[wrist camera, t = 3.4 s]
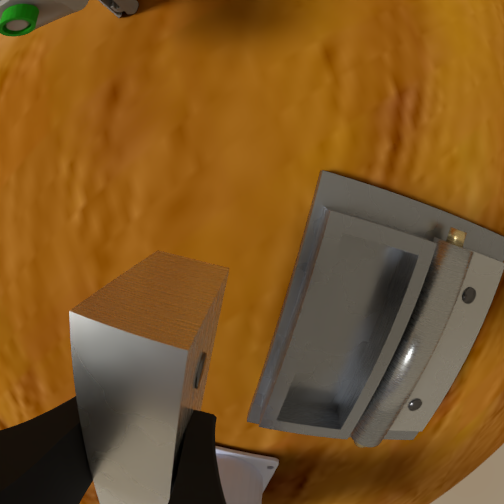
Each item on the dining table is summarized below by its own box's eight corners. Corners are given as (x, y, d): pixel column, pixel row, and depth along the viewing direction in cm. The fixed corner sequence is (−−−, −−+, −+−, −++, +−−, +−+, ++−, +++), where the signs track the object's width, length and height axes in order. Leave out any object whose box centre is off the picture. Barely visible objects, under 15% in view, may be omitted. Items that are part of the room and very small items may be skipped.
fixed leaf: (410, 433, 19) (421, 460, 16) (247, 413, 19) (243, 446, 16) (502, 237, 15) (532, 248, 12) (320, 170, 16) (331, 169, 13)
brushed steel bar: (194, 451, 12) (168, 538, 7) (143, 435, 12) (104, 516, 7) (231, 268, 10) (192, 351, 5) (157, 250, 10) (69, 310, 5)
